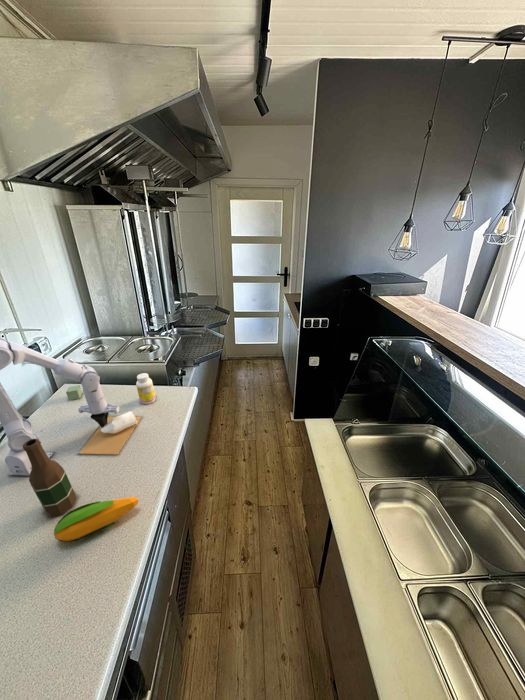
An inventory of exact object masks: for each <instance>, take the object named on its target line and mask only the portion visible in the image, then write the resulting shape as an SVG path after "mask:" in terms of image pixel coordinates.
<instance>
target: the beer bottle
mask: <svg viewBox="0 0 525 700" xmlns="http://www.w3.org/2000/svg"><path fill="white" fill-rule="evenodd" d="M38 439H39V438H38ZM38 439H37V438H36V439H31V440H29V441H27V442H25V443H24V445H23V449H24V450H25V451H26V453H27V455H28V458H29V460H30V463H31V466H32V470H31V473H30V475H28V481H29V484H30V486H31V488H32V490H33V491H34V493H35V495H36V498H37V499H38V501H39V503H40V504H41V506H42V508H43V510H44V511H45V512H46V514H48V515H49V517H55V516H60V515H63V514H64V513H66V512H67V511H69V510H70V509H71V508H72V507H73V506H74V503H75V501H76V499H77V495H76V493H75V490H74V488H73V486H72V483H71V481H70V479H69V477H68V474H67V473H66V471H65V468H64V467H63V466H62V465H60V464H59V463H58V462H57V461H56V460H55V459H51V458H48V456H47V455H46V453H45V452H46V451H45V449H44V447H43V445H42V441H41V440H40V439H39V440H38ZM41 445H42V446H41ZM42 447H43V448H42ZM43 449H44V450H43Z"/></svg>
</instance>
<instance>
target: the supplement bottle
mask: <svg viewBox="0 0 525 700" xmlns="http://www.w3.org/2000/svg"><path fill="white" fill-rule="evenodd" d="M136 380H137V381H136V383H135V386H136V390H137V395H138V398H139V402H140V403H141V404H143V405H148V404H151V403H153V402H154V401H155V400H156V397H157V396H156V393H155V388H154V383H153V380H152V378H150V376H149V373H147V372H142V373H139V374H137V376H136Z"/></svg>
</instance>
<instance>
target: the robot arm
mask: <svg viewBox="0 0 525 700" xmlns="http://www.w3.org/2000/svg"><path fill="white" fill-rule="evenodd" d="M11 363H12V364H13V365H14V366H15V365H19V364H22V363H29V364H33V365H35V366H39V367H42V368H47V369H50V370H53V373H54V375H56V376H59V377H61V378H65V379H66V380H67V379H68V380H71V381H74V382H80V386H81V387H82V393H83V395H84V398H85V400H86V404H85V405H80V406H79V407H78V408H77V410H78V412H79V414H83V413H88V414H90V419H92V420H94V421H95V422H96V423H97V424H98V425H99V427H100V426H101V428H103V427H104V426H105V425H106V424H107V419H108V417H109V414H110V413H114V414H118V413H119V412H120V411H121V408H120V406H119V405H114V404H110V403H107V401H106V397H105V395H104V391H103V388H102V385H101V384H100V380H101V377H100V376H99V373H98V372H97V371H96V370H95V368H93V367H92V366H91V365H88V364H80V363H77V362H75V361H74V359H72V358H68V359H67V358H60V359H56V358H54V357H51V356H49V355H46V354H44V353H42V352H39V351H37V350H34V349H32V348H29V347H27V346H25V345H22V344H20V343H17V342H16V341H12V340H7V339H5V338H3V337H0V371H2V370H4V369H5V368H6V367H8V366H9V365H11ZM0 424H1V426H2V427H3V430H4V433H5V436H6V437H7V446H8V448H9V452H8V454H7V455H6V457H5V458H4V462H5V464H6V466H7V467H8V469H9V471H10V473H9V475H10V476H29V475H30V473H31V470H32V466H31V463H30V460H29V458H28V455H27V453H26V451H25V450H24V449H23V445H24V443H25V442H27V441H29V440H31V439H36V438H37V439H38V440H39V441H40V439H39V437H38V435H37V434H36V433H34V432H33V430H32V423H31V421H29V420H28V419H26V418H24V417H23V415H22V414H20V412H19V411H18V409H17V408H16V406H15V404H14V403H13V401H12V400H11V398H10V396H9V394H8V393H7V391H6V390H5V388H4V387H3V385H2V383H1V382H0ZM41 446H42V448H43V450H44V451H45V449H44V447H43V445H42V444H41ZM45 453H46V455H47V456H48V458H49V459H51V457H52V455H54V452H51V451H49V452H48V451H45Z"/></svg>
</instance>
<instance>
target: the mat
mask: <svg viewBox="0 0 525 700" xmlns="http://www.w3.org/2000/svg"><path fill="white" fill-rule="evenodd" d="M115 417H116V416H108V419H107V423H109V422H110V421H111V420H112V419H113V418H115ZM135 419H136V422H137V423H136V424H135V425H133V426H131V427H128V428H126V429H124V430H122V431H120V432H117V433H103V432H101V429H102V428H101V426H100V425H99V427H98V429H97V430H96V431H95V432H94V433H93V434H92V436H91V437H90V438H89V440H88V441H87V442H86V443H85V445H84V446H83V447H82V448H81V449H80V451H79V452H78V455H105V456H106V455H107V456H109V455H110V456H111V455H112V456H113V455H115V456H118V455H119V453H120V451H121V450H122V449H123V447H124V445H125V444H126V442H127V441H128V439H129V437H130V436H131V435H132V433H133V431H134V430H135V428H136V427H137V425H138V423H139V422H140V421H141V419H142V416H135Z"/></svg>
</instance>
